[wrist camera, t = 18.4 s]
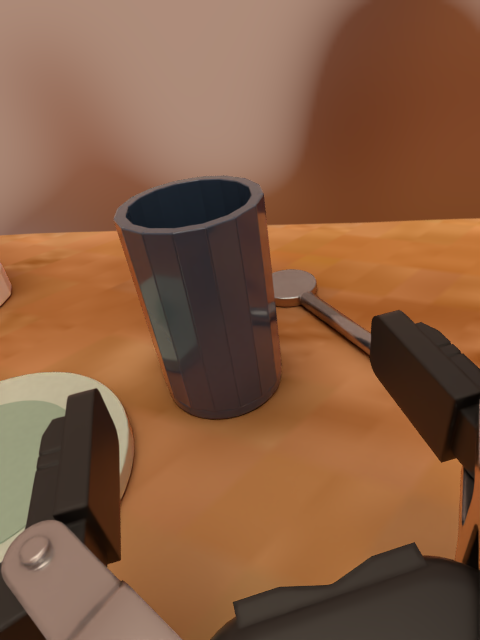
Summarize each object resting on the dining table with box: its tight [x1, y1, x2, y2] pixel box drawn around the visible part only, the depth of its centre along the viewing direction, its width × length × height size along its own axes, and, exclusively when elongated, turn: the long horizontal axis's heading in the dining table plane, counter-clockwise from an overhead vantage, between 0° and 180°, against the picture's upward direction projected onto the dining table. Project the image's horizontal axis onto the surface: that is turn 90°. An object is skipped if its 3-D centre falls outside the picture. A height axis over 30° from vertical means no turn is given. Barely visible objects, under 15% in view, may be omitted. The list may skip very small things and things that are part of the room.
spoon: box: [272, 269, 371, 355], centre depth 25 cm, size 4×16×1 cm, turn 29°
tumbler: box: [114, 176, 282, 419], centre depth 21 cm, size 6×6×10 cm
